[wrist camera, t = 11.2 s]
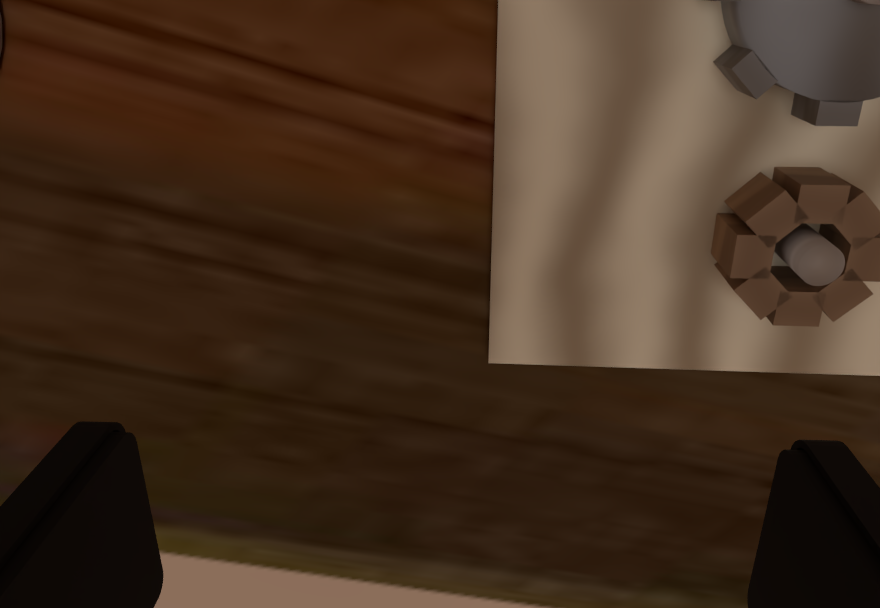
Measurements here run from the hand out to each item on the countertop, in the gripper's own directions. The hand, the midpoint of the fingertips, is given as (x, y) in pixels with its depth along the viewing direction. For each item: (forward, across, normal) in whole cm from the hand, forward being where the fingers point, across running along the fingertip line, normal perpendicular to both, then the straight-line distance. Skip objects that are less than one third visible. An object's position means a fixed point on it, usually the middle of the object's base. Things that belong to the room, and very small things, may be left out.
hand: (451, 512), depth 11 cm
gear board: (+29, -13, -2) cm, 32 cm away
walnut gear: (+28, -16, +5) cm, 33 cm away
